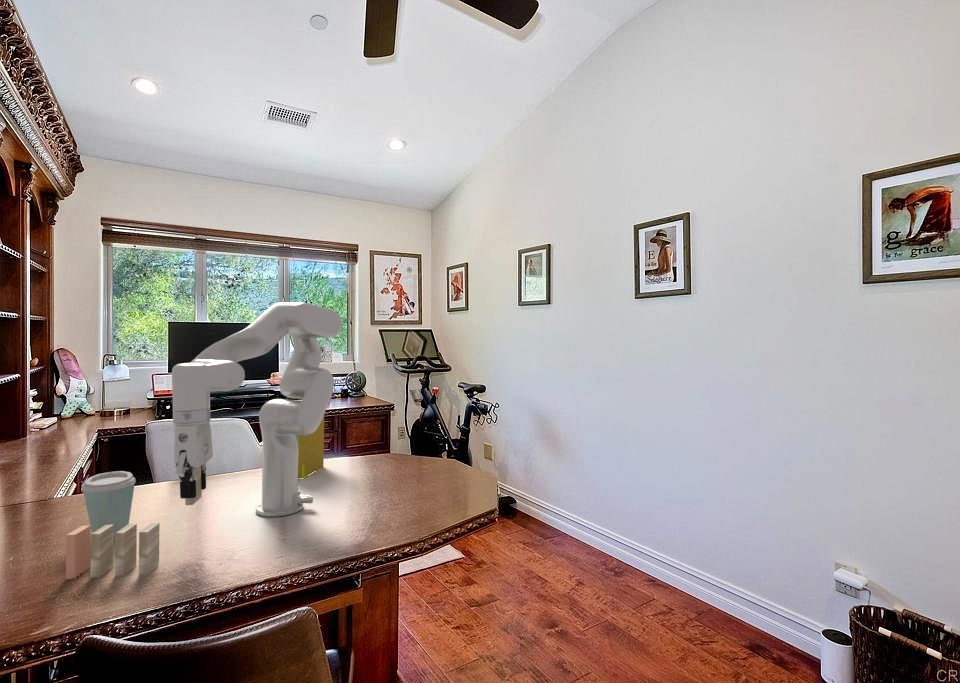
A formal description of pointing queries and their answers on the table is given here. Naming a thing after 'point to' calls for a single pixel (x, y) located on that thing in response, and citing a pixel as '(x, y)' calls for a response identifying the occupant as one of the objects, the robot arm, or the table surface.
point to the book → (310, 451)
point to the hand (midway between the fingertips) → (193, 492)
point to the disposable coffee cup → (109, 499)
